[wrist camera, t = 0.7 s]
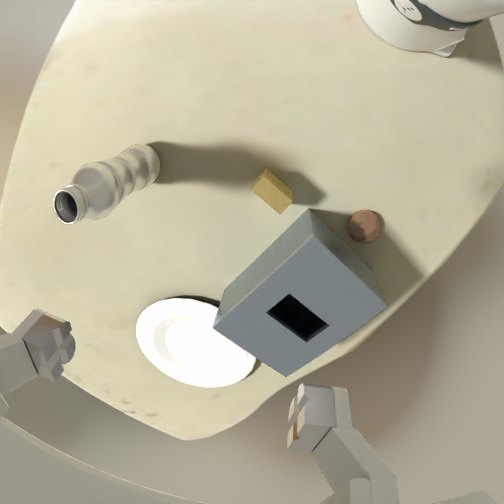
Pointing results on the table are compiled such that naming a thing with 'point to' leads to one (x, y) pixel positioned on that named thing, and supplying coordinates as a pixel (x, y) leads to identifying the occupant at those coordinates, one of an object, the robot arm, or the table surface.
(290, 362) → the coin box
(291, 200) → the brushed brass bar
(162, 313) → the plate
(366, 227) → the copper token
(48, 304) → the table surface
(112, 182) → the plastic bottle
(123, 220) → the table surface
